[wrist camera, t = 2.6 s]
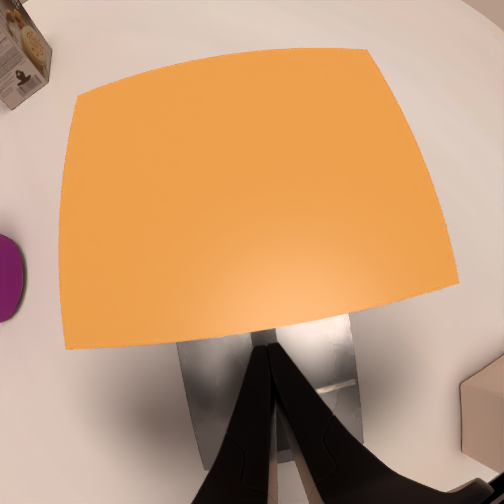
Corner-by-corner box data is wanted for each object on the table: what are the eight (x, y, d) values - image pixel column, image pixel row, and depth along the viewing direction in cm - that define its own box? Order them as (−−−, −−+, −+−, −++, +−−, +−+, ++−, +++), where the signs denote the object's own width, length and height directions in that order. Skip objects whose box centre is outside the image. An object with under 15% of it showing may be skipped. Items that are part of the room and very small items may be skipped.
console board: (356, 434, 16) (364, 444, 14) (208, 459, 16) (204, 471, 14) (301, 141, 20) (304, 127, 18) (165, 163, 20) (158, 151, 18)
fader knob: (305, 308, 16) (459, 282, 3) (215, 323, 16) (66, 349, 3) (292, 237, 17) (366, 49, 4) (204, 252, 16) (77, 95, 4)
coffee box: (18, 74, 25) (-34, 9, 9) (53, 49, 25) (5, -25, 9) (11, 112, 23) (-59, 39, 7) (50, 83, 23) (-15, -5, 8)
